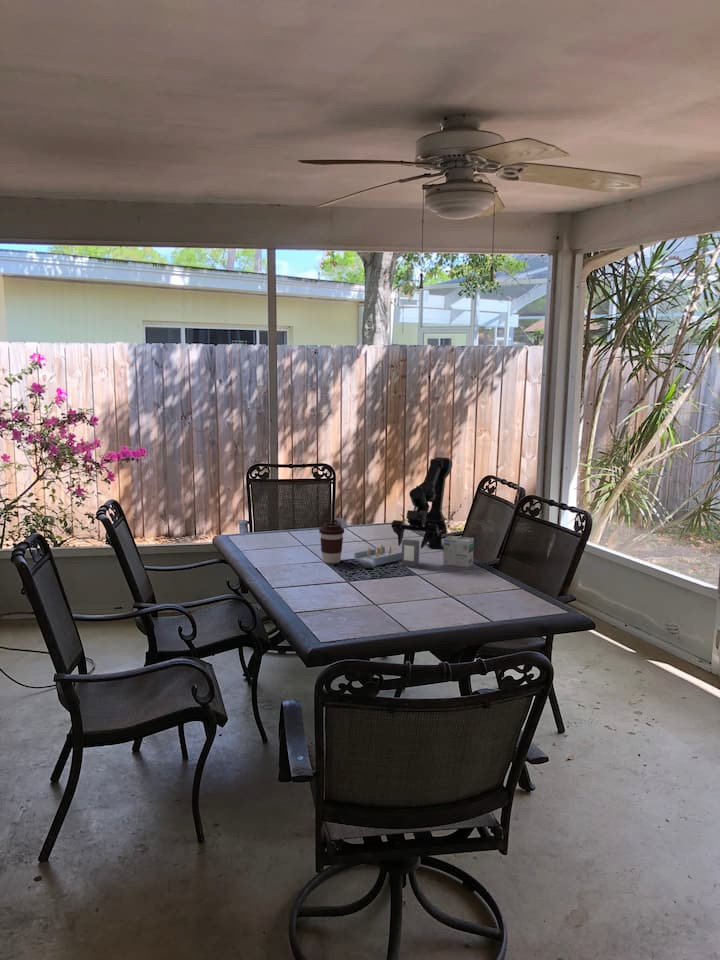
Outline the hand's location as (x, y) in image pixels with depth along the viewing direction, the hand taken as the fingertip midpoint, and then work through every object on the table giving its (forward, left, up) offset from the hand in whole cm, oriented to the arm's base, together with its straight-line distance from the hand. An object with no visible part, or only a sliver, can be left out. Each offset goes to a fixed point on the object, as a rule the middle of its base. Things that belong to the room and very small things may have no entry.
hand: (410, 546), depth 298 cm
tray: (-11, -9, -8) cm, 17 cm away
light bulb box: (+1, +20, -8) cm, 21 cm away
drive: (-1, 0, -8) cm, 8 cm away
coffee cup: (-11, -29, -8) cm, 32 cm away
